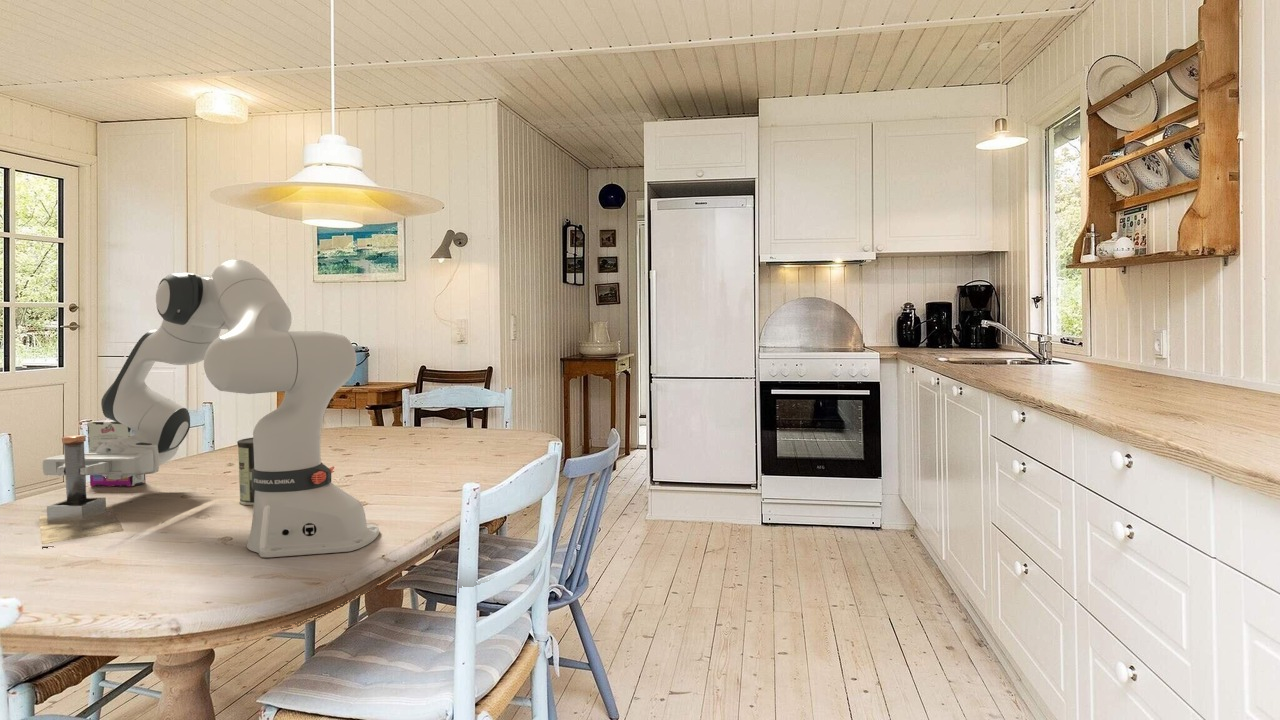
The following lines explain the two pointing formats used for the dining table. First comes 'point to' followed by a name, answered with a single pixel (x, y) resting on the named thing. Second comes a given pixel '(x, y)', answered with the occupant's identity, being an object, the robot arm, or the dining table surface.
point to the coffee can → (246, 470)
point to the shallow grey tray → (76, 510)
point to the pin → (75, 469)
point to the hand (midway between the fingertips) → (72, 471)
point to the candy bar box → (103, 433)
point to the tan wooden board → (79, 527)
